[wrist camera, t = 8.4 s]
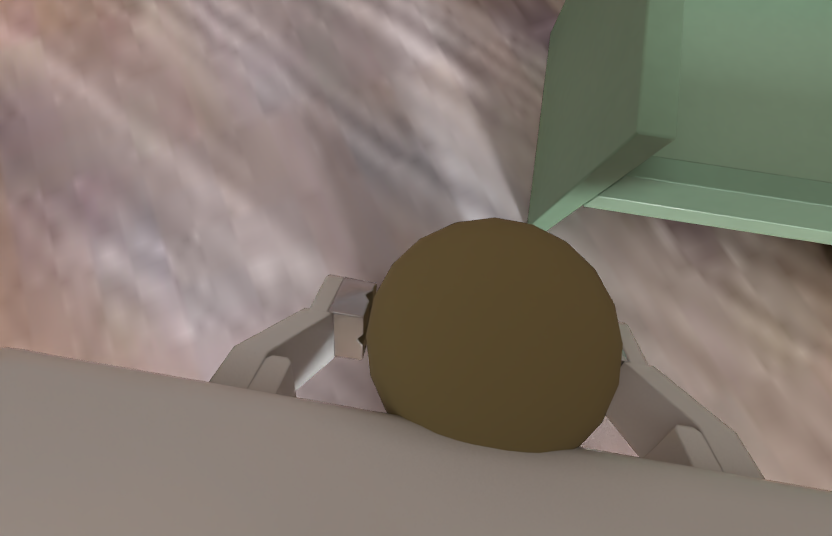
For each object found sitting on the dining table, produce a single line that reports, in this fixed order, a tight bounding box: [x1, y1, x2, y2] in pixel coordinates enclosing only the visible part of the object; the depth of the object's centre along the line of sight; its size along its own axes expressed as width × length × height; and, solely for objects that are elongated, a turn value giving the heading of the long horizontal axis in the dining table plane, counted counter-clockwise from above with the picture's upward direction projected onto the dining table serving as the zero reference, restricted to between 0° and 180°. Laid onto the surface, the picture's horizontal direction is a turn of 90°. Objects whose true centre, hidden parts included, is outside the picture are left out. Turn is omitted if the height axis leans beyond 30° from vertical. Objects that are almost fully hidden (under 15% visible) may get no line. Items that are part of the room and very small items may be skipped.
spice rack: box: [528, 0, 832, 245], centre depth 14 cm, size 16×11×9 cm
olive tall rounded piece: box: [366, 218, 623, 453], centre depth 11 cm, size 6×6×11 cm
